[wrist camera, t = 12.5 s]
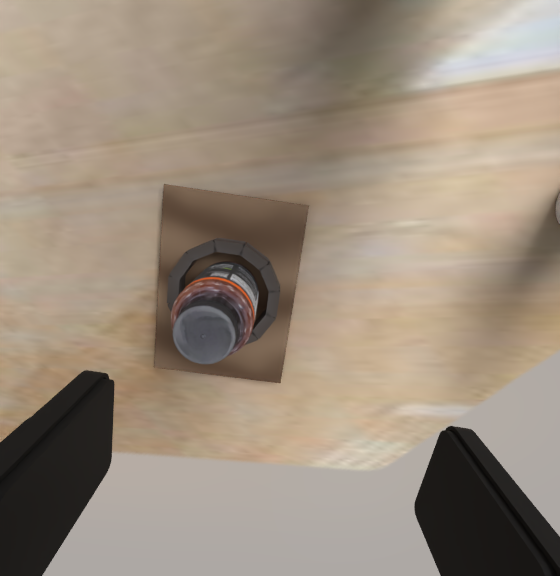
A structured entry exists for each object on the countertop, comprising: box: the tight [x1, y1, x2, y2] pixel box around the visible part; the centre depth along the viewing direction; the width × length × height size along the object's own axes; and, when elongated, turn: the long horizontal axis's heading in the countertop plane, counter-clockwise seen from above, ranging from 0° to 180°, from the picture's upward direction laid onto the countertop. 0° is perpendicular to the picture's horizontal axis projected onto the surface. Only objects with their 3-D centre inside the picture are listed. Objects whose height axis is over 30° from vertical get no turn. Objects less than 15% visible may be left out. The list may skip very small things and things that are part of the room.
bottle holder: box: [154, 184, 309, 383], centre depth 31 cm, size 18×13×3 cm
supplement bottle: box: [171, 261, 259, 364], centre depth 26 cm, size 6×6×11 cm
